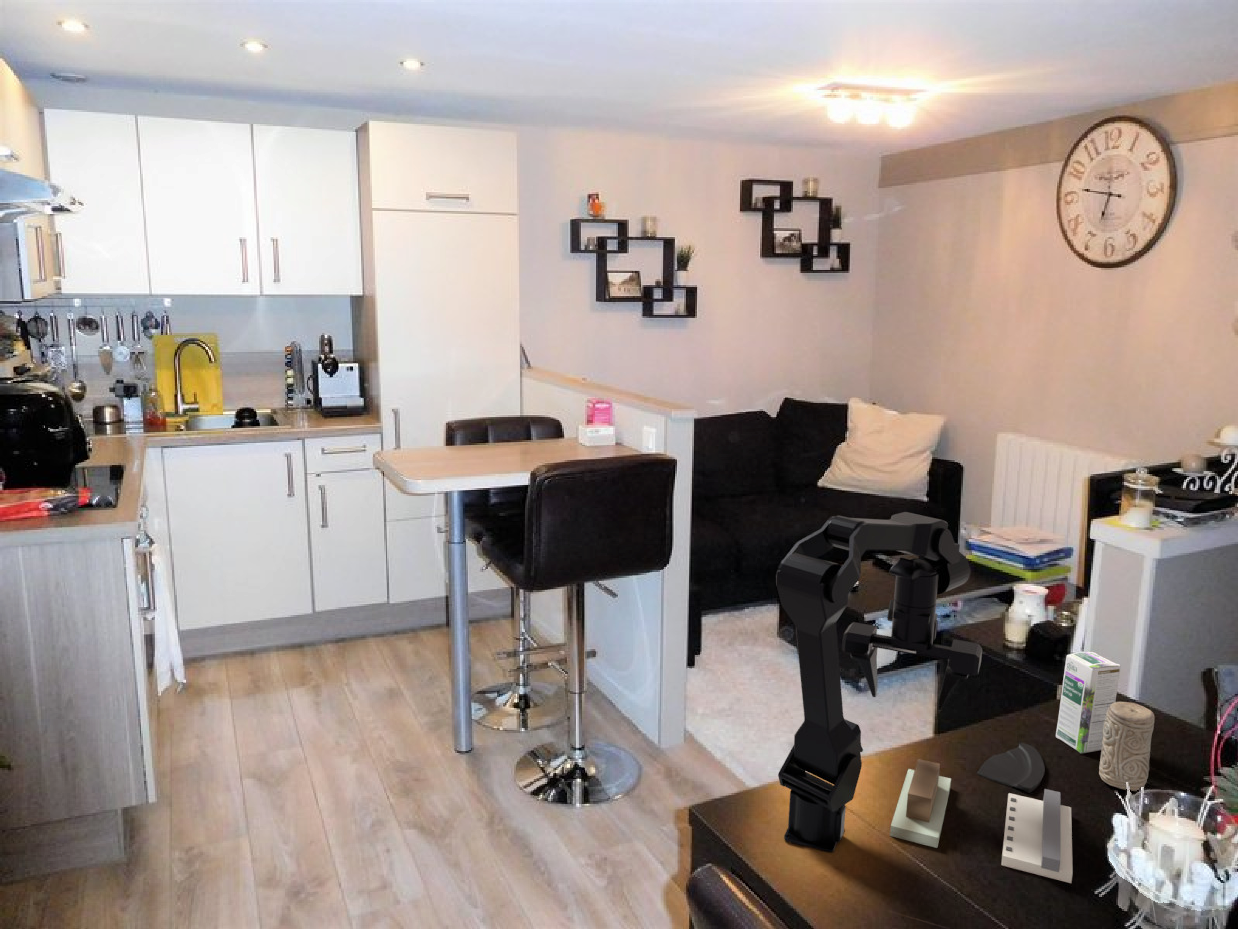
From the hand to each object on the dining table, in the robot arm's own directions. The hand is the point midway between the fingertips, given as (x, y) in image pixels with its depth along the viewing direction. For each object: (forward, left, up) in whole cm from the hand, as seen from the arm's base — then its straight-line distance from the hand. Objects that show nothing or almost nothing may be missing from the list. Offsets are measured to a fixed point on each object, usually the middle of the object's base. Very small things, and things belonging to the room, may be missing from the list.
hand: (906, 702), depth 134 cm
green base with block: (+4, -8, -12) cm, 15 cm away
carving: (+30, +13, -12) cm, 35 cm away
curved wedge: (+16, +10, -13) cm, 23 cm away
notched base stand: (+19, -8, -12) cm, 24 cm away
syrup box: (+25, +24, -12) cm, 37 cm away
